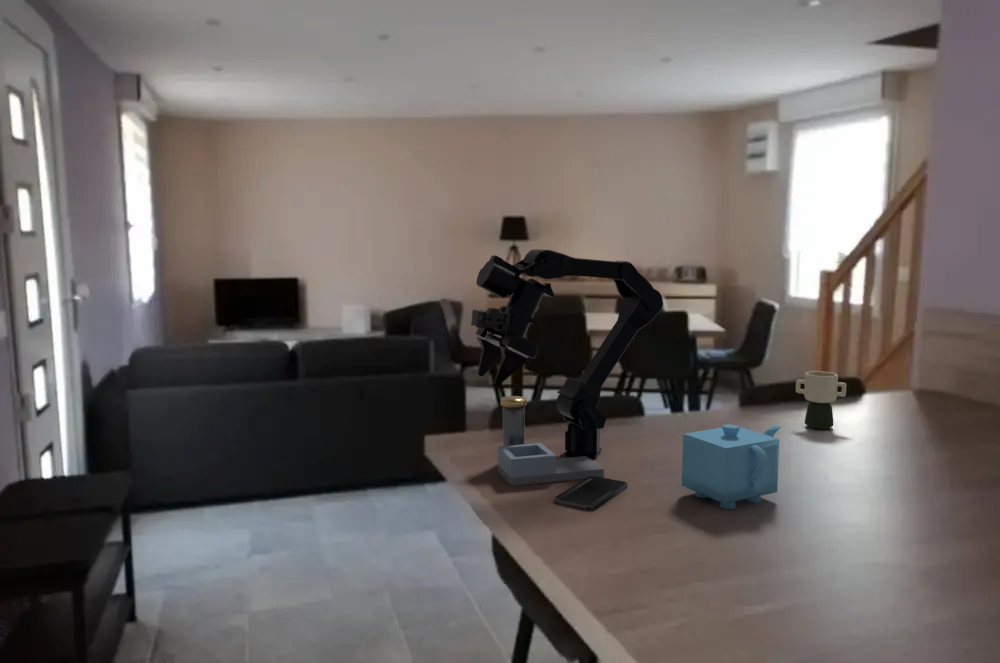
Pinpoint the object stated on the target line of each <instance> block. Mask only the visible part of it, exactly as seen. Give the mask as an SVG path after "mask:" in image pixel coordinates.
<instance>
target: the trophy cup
mask: <svg viewBox="0 0 1000 663" xmlns="http://www.w3.org/2000/svg"><path fill="white" fill-rule="evenodd" d="M801 384H803V385H804V389H803V388H801ZM838 387H840V388H841V391H840V392H839V391H838ZM795 392H796V393H797V394H803V396H804V399H805V400H806V401H809V403H808V404H807V408H806V412H805V416H804V424H805V425H806V426H807V427H811V428H814V429H829V428H833V427H834V416H833V413H834V412H833V406H832V404H831V403H834V402H836V400H837V397H843V398H844V397H846V395H847V383H846V382H843V381H842V382H841V381H840V382H839V375H838V373H835V372H831V371H822V370H813V371H806V372H805V375H804V379H796V381H795Z"/></svg>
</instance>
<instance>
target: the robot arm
mask: <svg viewBox="0 0 1000 663" xmlns="http://www.w3.org/2000/svg"><path fill="white" fill-rule="evenodd" d="M520 276H522V277H520ZM523 276H524V277H531V278H528V280H527V279H524V278H523ZM570 276H571V277H572V276H576V277H586V278H599V279H600V278H602V279H612V280H613V282H614V285H615V287H616V291H617V293H618V294H619V295H620V297H621V298H622V300H621V301H620V305H619V307H618V315H617V319H616V322H615V323H614V325H613V326H612V328H611V329H610V331H609V332H608V334H607V335H606V336H605V339H604V340H603V341H602V343H601V345H600V346H599V348H598V349H597V351H596V352H595V354H594V355H593V357H592V358H591V360H590V361H589V363H588V364H587V366H586V367H585V369H584V370H583V372H582V373H581V374H580V375H579V376H578V377H576V378H573V377H570V376H568V377H567V378H566V379H565V382H564V383H563V385H562V387H561V389H559V390H558V391H557V394H558V396H557V398H556V402H555V403H556V406H557V410H558V412H559V413H560V414H561V415H562V416H563V419H564V422H566V423H568V425H567V430H566V431H564V450H565V453H564V454H565V457H581V456H587V457H588V458H589V459H597V457H598V456H599V454H601V452H602V450H603V449H602V447H601V444H600V443H601V430H602V429H604V427H605V424H606V421H607V418H606V417H605V416H604V415H603V413H601V412H600V411H599V410H598V409H597V407H598V406H599V403H600V401H601V393H602V387H603V386H604V384H605V382H606V381H607V379H608V378H609V376H610V375H611V373H612V371H613V370H614V368H615V367H616V365H617V363H618V362H619V360H620V359H621V358H622V356H623V354H624V353H625V351H626V349H627V348H628V347H629V346H630V344H631V342H632V340H633V339H634V338H635V336H636V335H637V332H639V330H641V329H642V328H644V327H646V326H647V325H648V324H649V323H651V322H652V321H653V320H654V319H655V317H657V315H658V314H659V313H660V312H661V311H662V309H663V306H664V301H663V297H662V294H661V292H660V291H659V290H657V289H655V287H654V286H653V285H652V284H651V282H650V281H649V280H647V279H646V278H645V277H644V276H643V275H642V274H641V273H640V272H639V271H638V270H637V268H636V267H635V266H634V264H633V263H632V262H630V261H627V260H615V261H613V260H612V261H611V260H603V259H602V260H600V259H590V258H579V257H573V256H570V255H567V254H565V253H562V252H559V251H556V250H553V249H552V250H551V249H540V248H539V249H537V248H536V249H535V248H534V249H530V250H529V251H528V252H527V253H526V254H525V256H524V258H523V259H521V260H519V261H518V262H516V263H514V264H511V263H509V262H507V261H505V260H504V259H503V258H502V257H500V256H498V255H496V254H494V255H491V256H490V258H489V260H488V261H487V262H486V263H485V264H484V265H483V267H482V268H481V269H479V272H478V274H477V278H476V286H478V287H479V288H481V289H484V290H485V291H487V292H489V293H491V294H493V295H495V296H497V297H499V298H501V299H504V298H506V297H507V296H510V298H509V300H508V301H507V304H506V305H502V306H500V308H496V307H494V308H493V307H488V308H487V310H485V309H484V310H483V309H472V313H471V320H470V321H471V323H470V325H471V326H472V327H473V326H475V328H477V329H476V332H475V335H477V337H476V339H477V340H478V342H479V345H480V348H481V349H480V357H479V365H478V370H477V375H478V376H479V377H484V376H485V374H487V373H488V371H489V370H491V368H492V367H493V366H494V365H495V363H496V362H497V361H498V360H499V359H500V358H501V359H500V363H499V365H498V368H497V371H496V375H495V378H494V384H495V385H497V386H500V385H501V384H502V383H504V382H505V381H506V380H507V379H509V377H510V376H512V375H513V374H514V373H516V371H518V370H519V369H520V368H522V366H524V365H526V364H527V363H528V362H529V363H530V362H531V359H534V360H535V359H536V357H537V354H538V353H539V347H538V344H537V343H536V342H534V341H531V340H529V339H528V338H526V337H525V335H526V333H527V330H528V329H529V327H530V325H534V324H535V323H536V321H537V320H536V319H535V318H534V316H535V314H536V311H537V309H538V307H539V305H540V302H542V301H541V300H542V299H543V296H545V297H550V298H554V297H555V293H554V291H553V288H552V283H549V282H544V283H541V282H540V281H538V280H536V279H542V280H553V279H561V278H565V277H570ZM534 278H536V279H534ZM530 358H531V359H530Z"/></svg>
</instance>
